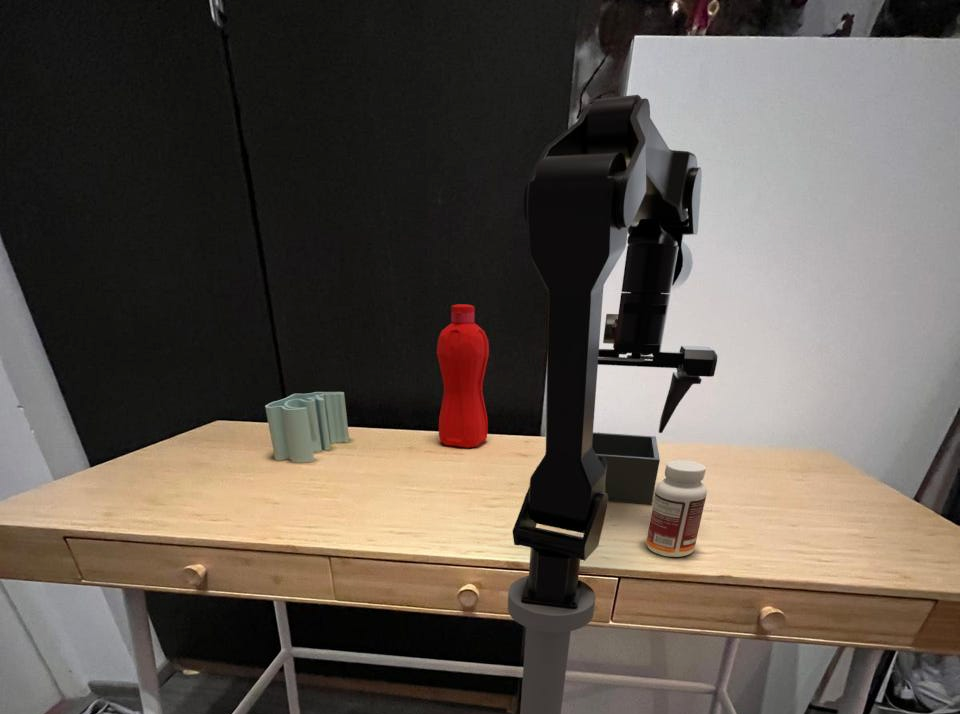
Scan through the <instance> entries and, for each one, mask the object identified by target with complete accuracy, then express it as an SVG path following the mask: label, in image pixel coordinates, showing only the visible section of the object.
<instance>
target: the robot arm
mask: <svg viewBox="0 0 960 714" xmlns="http://www.w3.org/2000/svg"><path fill="white" fill-rule="evenodd" d="M650 105H651V104H650V102H649V99H648V98H645V97H644V98H643V97H641V96H640V94H632V95H622V96H613V97H604V98H603V97H602V98H595V99H594V100H593V101H592V103H587V104H586V105H584V108H583V109H582V111H581V113H580V115H579V117H578V119H577V121H576V122H575V123H574V124H572V125H571V126H570V127H569V128H567V129H566V130H565V131H564V132H562V133H561V134H560V135H559V136H557V137H556V138H555V139H554V140H552V141H551V142H550V143H549V144H547V145H546V147H545V148H544V149H543V150H542V152H541V153H540V156H539V157H538V159H537V162H536V163H535V165H534V168H533V169H532V172H531V173H530V175H529V177H528V179H527V181H526V184H525V187H524V193H523V208H522V209H523V217H524V220H525V224H526V226H527V232H528V233H527V234H528V235H527V236H528V238H527V239H528V250H529V251H528V253H529V257H530V260H531V261H532V263H533V266H534V267H535V269H536V271H537V273H538V275H539V277H540V279H541V280H542V282H543V285H544V287H545V289H546V290H547V345H546V347H547V348H546V349H547V350H546V352H547V353H546V405H545V406H546V407H545V408H546V410H545V411H546V415H545V453H544V455H543V457H542V459H541V461H540V462H539V463H538V465H537V467H535V469H534V471H533V473H532V474H531V475H530V478H529V487H528V489H527V492H526V493H525V496H524V498H523V499H524V500H523V503H522V504H521V506H520V507H521V508H520V510H519V512H518V514H517V515H518V516H517V518H516V521H515V523H514V526H513V528H512V539H513V544H514V546H518V547H519V546H522V547H526V548H530V553H529V567H528V575H527V576H528V578H527V581H526V584H525V588H524V591H523V594H522V597H521V602H522V603H525V604H533V605H541V606H550V607H558V608H567V609H577V608H578V603H579V596H580V590H581V581H582V580H581V581H579V580H580V579H579V576H580V567H581V561H584V562H586V560H588V558H590V556H591V555H592V554H593V553H594V551H596V549H598V548H599V544H600V540H601V536H602V532H603V527H604V524H605V518H606V515H607V510H608V504H609V501H608V494H607V493H605V478H606V471H607V463H606V460H605V457H602V456H597V455H596V453H595V452H594V450H593V448H592V439H593V432H594V425H595V410H596V397H597V380H598V370H599V369H598V368H599V367H598V366H616V367H617V366H619V367H621V366H622V367H638V368H639V367H640V368H641V367H642V368H662V369H663V368H664V369H676V371H672V375H671V380H670V385H669V388H668V393H667V396H666V399H665V401H664V406H663V409H662V413H661V415H660V418H659V419H660V420H659V424H658V433H659V434H662V433H663V432H664V431H665V429H666V427H667V425H668V424H669V421H670V419H671V418H672V416H673V414H674V412H675V410H676V409H677V407H678V406H679V404H680V402H681V401H682V400H683V398H684V397H685V395H686V394H687V393H688V392H689V390H690V389H691V387H692V386H693V385H700V384H702V380H703V379H702V378H701V377H706V378H711V377H715V373H716V369H717V364H718V354H717V352H716V351H715V349H713V348H711V347H710V346H700V345H699V346H697V345H696V346H695V345H680V349H679V351H662V346H663V345H662V344H663V339H664V335H665V329H666V322H667V318H668V317H667V316H668V312H669V311H668V310H669V305H670V300H671V293H672V292H673V291H675V290H678V289H679V288H681V287H682V286H683V285H684V284H685V283H686V282H687V280H688V278H689V277H690V275H691V273H692V270H693V264H694V262H693V261H694V260H693V254H692V251H691V248H690V247H689V245H688V244H687V243H686V242H684V236H697V235H698V231H699V221H700V205H701V192H702V179H703V172H702V168H701V167H700V166H699V167H698V159H697V156H696V155H695V153H693V152H691V151H687V150H685V151H684V150H675V149H674V150H673V149H671V148H669V146H668V145H667V143H666V141H665V140H664V138H663V137H662V135H661V133H660V131H659V130H658V128H657V127H656V125H655V123H654V122H653V120H652V118H651V109H650V108H651V106H650ZM626 246H627V247H626ZM625 250H626V253H625V261H624V269H623V276H622V284H621V293H620V300H619V308H618V313H606V316H605V323H604V331H603V339H602V343H603V344H612V345H613V346H612V349H611V348H610V349H609V348H600V340H601V339H600V338H601V325H602V311H603V299H604V287H605V284H606V282H607V280H608V279H609V277H610V275H611V274H612V272H613V270H614V269H615V267H616V265H617V263H618V261H619V260H620V258H621V256H622V255H623V253H624V251H625ZM620 355H624V356H623V357H622V356H620ZM625 355H626V357H625ZM537 525H542V526H546V527H550V528H555V529H561V530H565V531H570V532H575V533H579V534H583V536H580V535H579V536H578V535H575V534H570V533H566V532H559V531H555V530H551V529H546V528H541V527H537Z"/></svg>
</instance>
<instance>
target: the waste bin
mask: <svg viewBox="0 0 960 714" xmlns="http://www.w3.org/2000/svg"><path fill="white" fill-rule="evenodd" d="M592 448H593V450H594V452H595V453H596V455H597V456H602V457H605V460H606V463H607V471H606V478H605V493H607V494H608V502H616V503H617V502H618V503H629V504H641V505H653V500H654V495H655V490H656V484H657V483H656V482H657V477H658V471H659V467H660V461H661V459H660V458H661V457H660V452H659V447H658V441H657V436H656V435H642V434H641V435H640V434H625V433H611V432H610V433H609V432H595V431H593V439H592Z"/></svg>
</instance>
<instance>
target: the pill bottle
mask: <svg viewBox="0 0 960 714" xmlns="http://www.w3.org/2000/svg"><path fill="white" fill-rule="evenodd" d="M706 470H707V467H706V465H704V464H703V463H700V462H698V461H694V460H693V461H692V460H687V459H685V460H683V459H676V460H671V461H668V462H666V465H665V468H664V476H665V478H663V479H661V480H660V481H659V482H658V483H656V485H655V490H654V495H653V501H652V507H651V512H650V513H651V514H650V519H649V525H648V530H647V536H646V547H647V548H648V549H649V550H650V551H651V552H653V553H655V554H656V555H660V556H663V557H669V558H670V557H671V558H672V557H673V558H679V557H684V556H688V555H691V554H692V553H693V552H694V551H695V548H696V543H697V539H698V535H699V529H700V527H701V526H700V525H701V522H702V516H703V514H704V513H703V512H704V509H705V505H706V504H705V503H706V499H707V494H708V489H707V485H705V483H703V482H702V481H703V480H704V479H705V474H706Z"/></svg>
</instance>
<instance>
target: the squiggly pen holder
mask: <svg viewBox="0 0 960 714" xmlns="http://www.w3.org/2000/svg"><path fill="white" fill-rule="evenodd" d="M264 407H265V413H266V419H267V424H268V429H269V435H270V440H271V445H272V451H273V457H274V460H275V461H283V460H284V461H285V460H290V461H291V462H292V463H296V464H300V463H301V464H303V463H311V462H314V461H315V456H314V453H319V452H321V451H323V450H324V451H330V450H331V444H334V443H337V444H338V443H339V444H340V443H341V444H342V443H349V442H350V435H349V425H348V416H347V407H346V397H345V392H344V391H314V392H309V393H292V394H290V395H289V396H287V397H285V398H282V399H279V400H275V401H271V402H269V403H267V404H266V405H264Z"/></svg>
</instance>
